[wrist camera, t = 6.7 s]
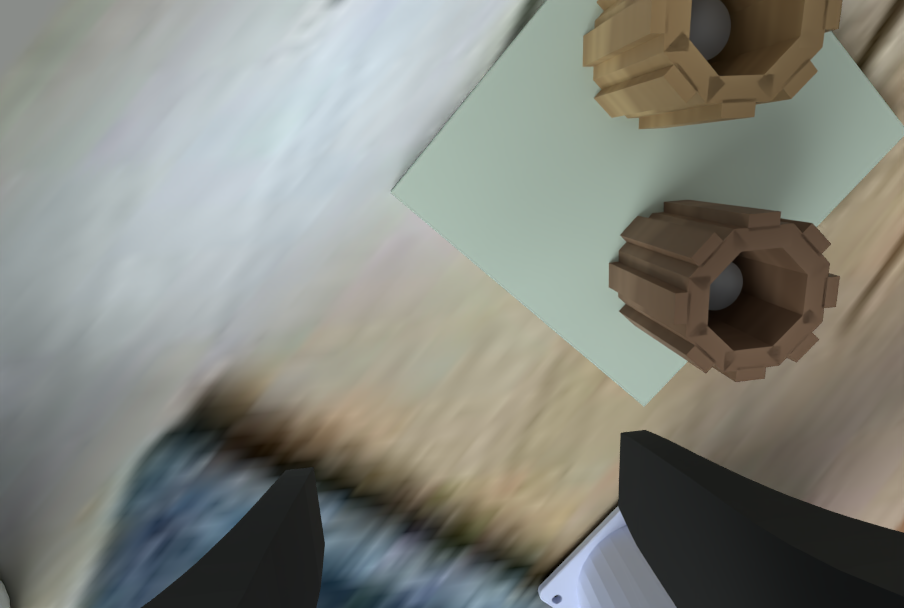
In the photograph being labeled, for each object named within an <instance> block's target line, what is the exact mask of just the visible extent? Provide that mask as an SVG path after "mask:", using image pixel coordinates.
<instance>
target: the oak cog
mask: <svg viewBox="0 0 904 608" xmlns="http://www.w3.org/2000/svg"><path fill="white" fill-rule="evenodd" d="M720 1H721V2H722V3H723V4H724V5H725V6H726V8H727V10H728V12H729V15H730V19H731V31H730V36H729V39H728V41H727V43H726V45H725V47H724V48H723V49H722V51H721V52H720V53H719V54H718V55H716V56H715V57H713V58H711V59H709V60H706V59H705V58H704V57H703V56H702V54H701V53H700V52H699V51H698V49H697V48H696V47H695V46H694V45H693V43H692V42H691V41H690V40H689V35H690V21H691V7H692V0H597V4H598V5H599V6H600V7H601V8H602V9H603V12H602V14H601V15H600V16H599V17H598V18H597V19H596V20H595V26H594V29H593V30H592V31H590V32H588V33H587V34H585V35H584V36H583V67H593V81H594V82H595V83H596V84H597V85H598V86H599V87H600V88H601V90H600V92H599V93H598V94H597V95H596V96H595V97H594V99H595V100H596V101H597V102H598V103H599V105H600V106H601V107H602V108H603V109H604V110H605V111H606V112H607V113H608V114H609V116H610V117H611V118H614V117H619V116H624V115H625V116H626V117H627V118H639V129H656V128H669V127H678V126H686V125H694V124H702V123H710V122H718V121H726V120H735V119H743V118H751V117H754V116H755V107H756V105H757V104H763V103H770V102H776V101H782V100H789V99H792V98H793V97H794V96H795V95H796V94H797V93H798V92H799V91H800V90H801V88H802V87H803V86H804V85H805V84H806V83H807V82H808V81H809V80H810V79H811V78H812V77H813V76H814V75H815V74H816V73H817V72H818V70H817V69H816V67H815V66H814V65H813V63H812V62H811V61H810V60H811V59H812V58H813V57H814V56H815V55H816V54H817V53H818V52H819V51H820V49H821V48H822V47H823V41H824V33H826V32H829V31H833V30H836V29H839V22H840V15H841V8H842V0H720Z"/></svg>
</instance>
